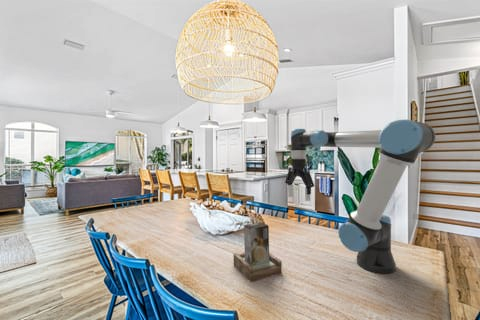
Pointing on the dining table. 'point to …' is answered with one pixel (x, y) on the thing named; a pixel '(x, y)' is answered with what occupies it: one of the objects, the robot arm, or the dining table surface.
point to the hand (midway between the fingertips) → (298, 198)
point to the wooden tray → (258, 267)
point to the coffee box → (256, 243)
